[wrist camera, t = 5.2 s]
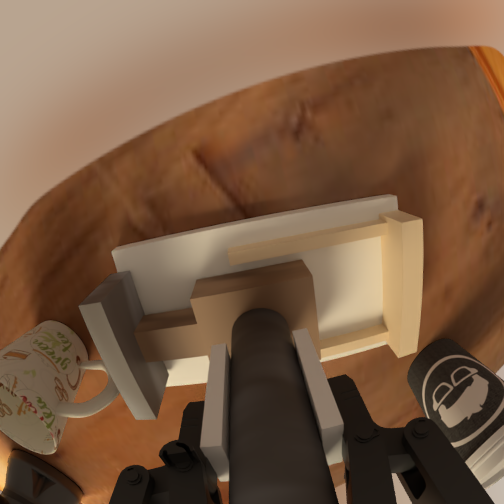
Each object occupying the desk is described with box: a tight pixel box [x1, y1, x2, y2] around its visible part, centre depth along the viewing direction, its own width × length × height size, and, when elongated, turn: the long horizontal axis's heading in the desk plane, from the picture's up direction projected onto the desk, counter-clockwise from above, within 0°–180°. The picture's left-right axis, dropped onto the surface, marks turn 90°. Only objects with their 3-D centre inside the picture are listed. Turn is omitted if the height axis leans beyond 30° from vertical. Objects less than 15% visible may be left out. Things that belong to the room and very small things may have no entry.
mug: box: [0, 320, 120, 454], centre depth 18 cm, size 8×13×10 cm, turn 98°
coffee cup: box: [408, 339, 504, 489], centre depth 18 cm, size 10×10×15 cm
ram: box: [79, 259, 339, 504], centre depth 13 cm, size 13×9×16 cm
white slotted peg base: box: [111, 194, 423, 386], centre depth 20 cm, size 20×12×4 cm, turn 101°
